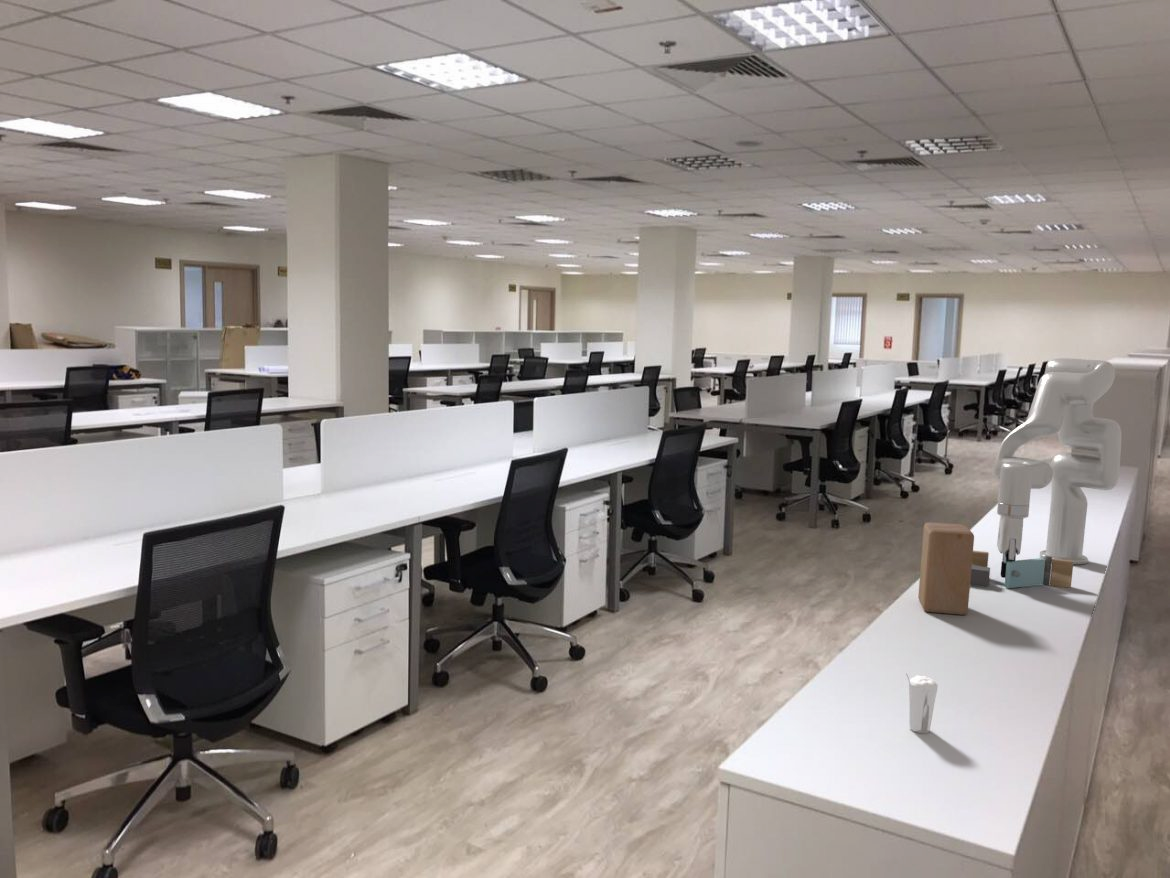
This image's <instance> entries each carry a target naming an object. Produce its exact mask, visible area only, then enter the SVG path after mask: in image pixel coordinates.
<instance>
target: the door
mask: <svg viewBox="0 0 1170 878" xmlns="http://www.w3.org/2000/svg"><path fill="white" fill-rule="evenodd" d="M1044 568H1045V559H1043V558H1041V557H1037V558H1029V559H1028V558H1027V559H1020V560H1015V561H1007V565H1006V575H1005V579H1004V587H1005V588H1007V589H1012V588H1013V589H1014V588H1020V587H1021V588H1023V587H1031V586H1040V585H1042V584H1043V578H1044Z"/></svg>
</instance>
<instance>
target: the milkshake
mask: <svg viewBox="0 0 1170 878" xmlns="http://www.w3.org/2000/svg"><path fill="white" fill-rule="evenodd" d="M905 674H906V677H907V680H908V691H909V693H908V697H909V730H911V731H912V732H914V733H917V734H928V733H930V731H931V726H932V721H933V715H934V709H935V708H934V707H935V702H936V696H937V691H938V686H939V685H938V684H937V682H936V681H935V680H934V679H933V678H930V677H928V676H926V675H915V676H913V677H911V678H909V676H908V675H909V674H908V673H907V672H906V673H905Z"/></svg>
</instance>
